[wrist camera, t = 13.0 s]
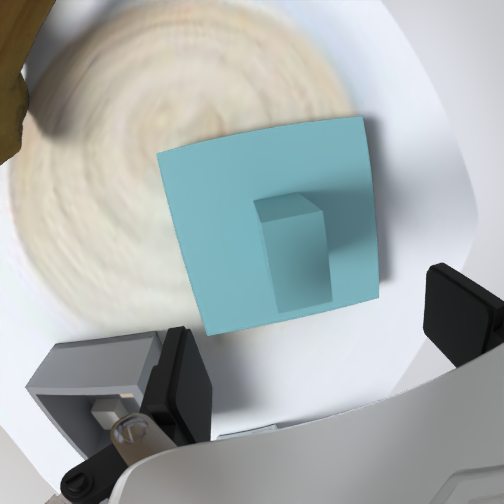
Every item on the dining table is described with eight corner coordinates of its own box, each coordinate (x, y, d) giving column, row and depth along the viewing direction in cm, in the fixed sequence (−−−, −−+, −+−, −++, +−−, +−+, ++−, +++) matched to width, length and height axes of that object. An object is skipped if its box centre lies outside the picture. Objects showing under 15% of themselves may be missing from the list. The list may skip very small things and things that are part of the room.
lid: (367, 284, 25) (414, 338, 17) (209, 319, 26) (201, 389, 18) (349, 118, 21) (407, 108, 13) (164, 152, 21) (125, 157, 13)
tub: (196, 417, 29) (192, 469, 23) (105, 421, 30) (90, 465, 23) (155, 330, 25) (137, 384, 19) (55, 343, 26) (25, 387, 19)
